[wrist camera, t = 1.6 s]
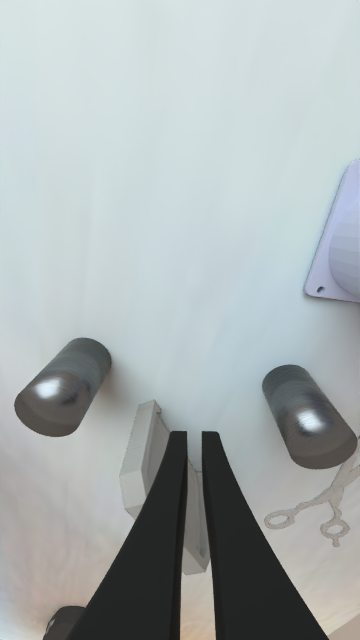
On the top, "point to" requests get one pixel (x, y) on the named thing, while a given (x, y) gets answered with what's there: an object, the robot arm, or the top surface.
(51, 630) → the media streaming box
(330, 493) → the scissors
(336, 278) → the robot arm
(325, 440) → the post
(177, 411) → the top surface
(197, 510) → the light switch
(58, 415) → the post
